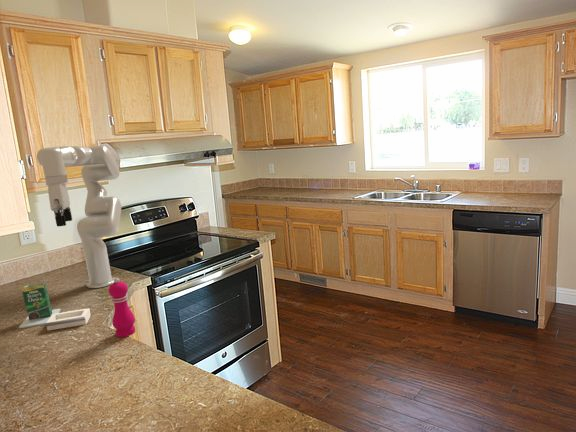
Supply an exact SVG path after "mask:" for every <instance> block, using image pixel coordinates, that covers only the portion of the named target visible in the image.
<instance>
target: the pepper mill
mask: <svg viewBox="0 0 576 432" xmlns="http://www.w3.org/2000/svg"><path fill="white" fill-rule="evenodd" d="M128 291H129V287H128V285H127V283H125V282H124V281H120V278H118V277H115V279H114V283H113V284H111V285H109V287H108V293H109V295H110V296H111V302H112V303H113V304H114V312H113V317H112V327H113V328H115V336H117V338H126V337H130V336H132V335H134V333H136V326H135V325H134V324H135V323H136V317H135V315H134V313H133V312H132V310H131V309H130V306H129V305H128V299H129V297H128Z"/></svg>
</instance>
